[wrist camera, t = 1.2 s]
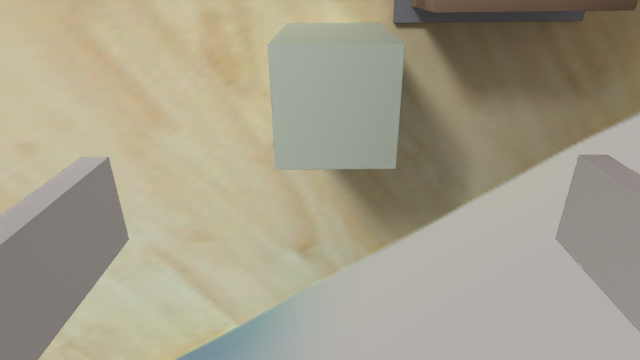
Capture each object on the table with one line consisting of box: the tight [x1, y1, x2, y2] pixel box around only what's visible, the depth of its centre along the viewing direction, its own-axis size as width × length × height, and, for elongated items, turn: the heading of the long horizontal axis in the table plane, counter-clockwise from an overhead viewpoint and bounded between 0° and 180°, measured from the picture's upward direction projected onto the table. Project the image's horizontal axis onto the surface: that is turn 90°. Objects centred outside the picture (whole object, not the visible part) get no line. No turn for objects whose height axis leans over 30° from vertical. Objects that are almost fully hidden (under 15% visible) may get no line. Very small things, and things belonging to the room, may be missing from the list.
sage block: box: [268, 22, 405, 170], centre depth 24 cm, size 6×6×10 cm
